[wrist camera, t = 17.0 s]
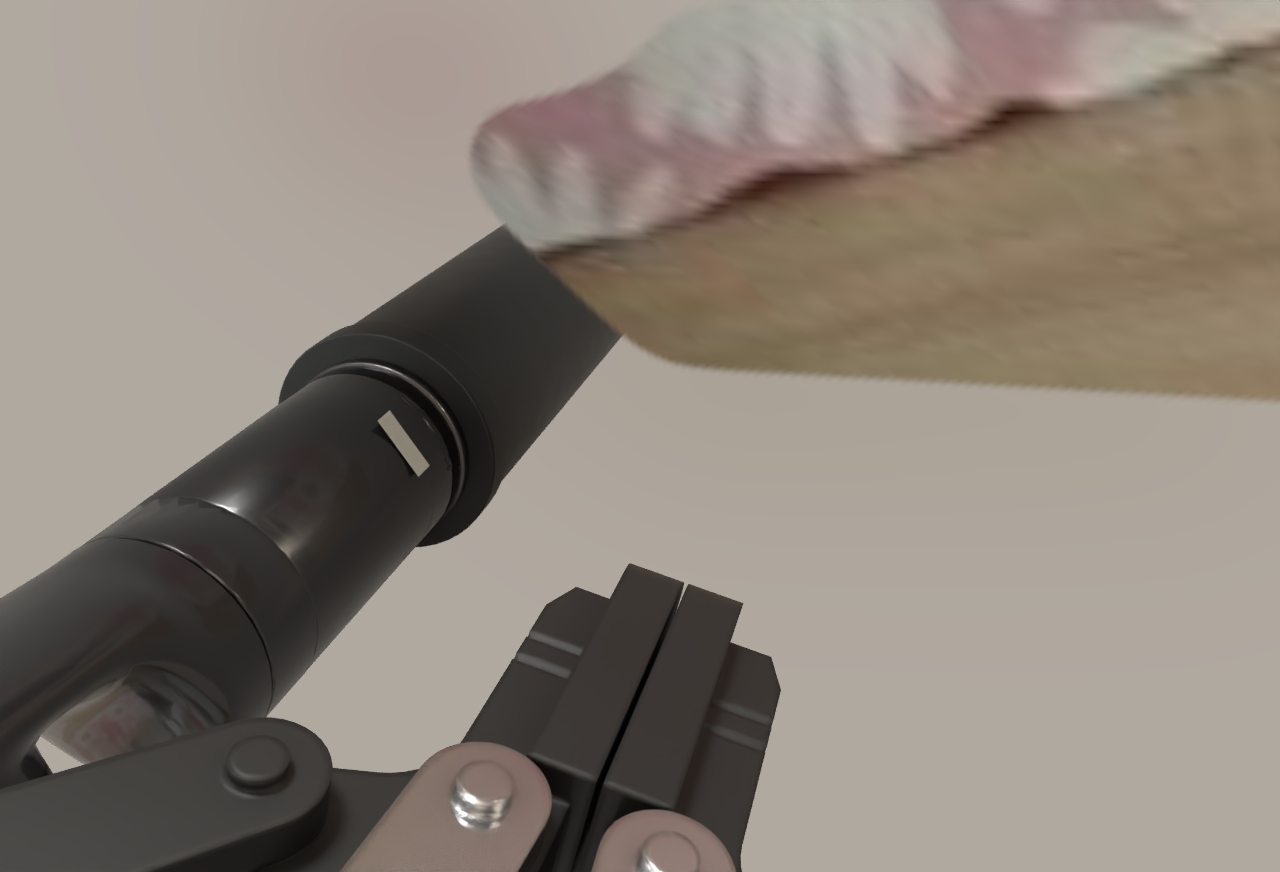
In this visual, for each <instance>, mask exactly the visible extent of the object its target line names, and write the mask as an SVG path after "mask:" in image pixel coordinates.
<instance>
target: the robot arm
mask: <svg viewBox="0 0 1280 872" xmlns="http://www.w3.org/2000/svg"><path fill="white" fill-rule="evenodd" d="M468 471H469V456H468V449H467V444H466V440H465V436H464V434H463V431H462V428H461V426H460V424H459V422H458V420H457V418H456V416H455V415H454V413H453V411H452V410H451V408H450V407H449V406H448V404H447V403H446V402H445V400H444V399H443V398H442V397H441V396H440V395H439V394H438V393H437V392H436V391H435V390H434V389H433V388H432V387H431V386H430V385H429V384H428V383H426V382H425V381H424V380H422V379H421V378H420V377H418V376H417V375H415V374H413V373H412V372H410V371H408V370H406V369H404V368H402V367H400V366H397V365H395V364H392V363H388V362H385V361H380V360H375V359H351V360H347V361H342V362H340V363H337V364H334V365H332V366H330V367H328V368H327V369H325V370H324V371H322V372H321V373H319V374H318V375H317V376H315V377H314V378H313V379H312V380H310V381H309V383H308V384H307V385H306V386H305V387H303V388H302V389H301V390H299V391H298V392H296V393H295V394H294V395H292V396H291V397H289V398H288V399H286V400H285V401H283V402H282V403H280V404H279V405H277V406H276V407H275V408H273V409H272V410H270V411H269V412H268V413H266V414H265V415H264V416H262V417H261V418H260V419H258V420H256V421H255V422H254V423H252V424H251V425H249V426H248V427H247V428H245V429H244V430H243V431H241V432H240V433H238V434H237V435H236V436H234V437H233V438H232V439H230V440H229V441H227V442H226V443H224V444H223V445H222V446H220V447H219V448H217V449H216V450H215V451H213V452H212V453H210V454H209V455H208V456H206V457H205V458H204V459H202V460H201V461H199V462H198V463H196V464H195V465H194V466H192V467H191V468H189V469H188V470H187V471H185V472H184V473H182V474H181V475H180V476H178V477H177V478H176V479H174V480H173V481H171V482H170V483H168V484H167V485H166V486H164V487H163V488H161V489H160V490H159V491H157V492H156V493H154V494H153V495H152V496H150V497H149V498H147V499H146V500H145V501H143V502H142V503H140V504H139V505H138V506H136V507H135V508H134V509H132V510H131V511H130V512H128V513H127V514H126V515H124V516H123V517H122V518H120V519H119V520H117V521H116V522H115V523H113V524H112V525H110V526H109V527H107V528H106V529H105V530H103V531H102V532H100V533H99V534H98V535H96V536H95V537H93V538H92V539H91V540H89V541H88V542H86V543H85V544H84V545H82V546H81V547H79V548H78V549H76V550H74V551H73V552H71V553H70V554H69V555H67V556H66V557H64V558H63V559H62V560H60V561H59V562H58V563H56V564H55V565H53V566H52V567H50V568H49V569H47V570H46V571H44V572H43V573H41V574H39V575H38V576H36V577H35V578H33V579H31V580H30V581H28V582H27V583H25V584H23V585H22V586H20V587H18V588H17V589H15V590H13V591H12V592H10V593H8V594H7V595H5V596H3V597H2V598H0V872H742V870H741V857H740V855H741V849H742V843H743V840H744V835H745V832H746V828H747V823H748V819H749V816H750V811H751V808H752V803H753V800H754V795H755V792H756V788H757V783H758V780H759V775H760V771H761V767H762V763H763V759H764V755H765V750H766V747H767V743H768V739H769V735H770V731H771V726H772V722H773V719H774V715H775V711H776V707H777V703H778V699H779V695H780V691H781V689H780V686H779V682H778V679H777V676H776V673H775V669H774V665H773V662H772V659H771V657H769V656H767V655H764V654H761V653H758V652H756V651H753V650H750V649H747V648H744V647H742V646H739V645H736V644H734V643H731V642H730V641H731V638H732V635H733V632H734V629H735V626H736V623H737V620H738V617H739V614H740V611H741V608H742V605H743V603H741V602H738V601H735V600H732V599H730V598H727V597H724V596H721V595H718V594H716V593H713V592H709V591H707V590H704V589H701V588H699V587H696V586H693V585H690V584H688V586H687V588H686V590H685V592H684V595H683V597H682V600H681V602H680V605H679V607H678V604H679V600H680V597H681V594H682V590H683V586H684V583H683V582H681V581H678V580H675V579H673V578H670V577H667V576H664V575H661V574H659V573H655V572H653V571H650V570H647V569H644V568H641V567H638V566H636V565H633V564H629V565H628V566H627V568H626V570H625V571H624V573H623V575H622V577H621V579H620V581H619V583H618V584H617V586H616V588H615V590H614V592H613V594H612V596H611V598H610V599H608V598H605V597H602V596H600V595H597V594H594V593H592V592H589V591H586V590H583V589H580V588H578V587H575V588H574V589H572V590H571V591H569V592H567V593H565V594H564V595H562V596H560V597H558V598H557V599H555V600H553V601H552V602H550V603H548V604H547V605H546V606H545V608H544V609H543V611H542V612H541V614H540V616H539V617H538V619H537V621H536V622H535V624H534V626H533V627H532V629H531V630H530V633H529V636H528V637H526V638H525V640H524V642H523V643H522V645H521V646H520V648H519V650H518V651H517V653H516V656H515V658H514V659H512V661H511V663H510V664H509V666H508V668H507V669H506V671H505V672H504V674H503V676H502V677H501V679H500V681H499V682H498V684H497V685H496V687H495V689H494V690H493V692H492V693H491V695H490V697H489V698H488V700H487V702H486V703H485V705H484V706H483V708H482V710H481V711H480V713H479V715H478V716H477V718H476V719H475V721H474V723H473V724H472V726H471V727H470V729H469V731H468V732H467V734H466V736H465V737H464V739H463V740H462V741H461V743H460V744H456V745H453V746H450V747H447V748H445V749H443V750H441V751H439V752H437V753H435V754H434V755H433V756H432V757H430V758H429V759H428V760H427V761H426V762H425V763H424V764H423V765H422V766H421V767H420V769H417V770H413V771H407V772H398V773H377V772H368V771H358V770H347V769H338V768H332V761H331V756H330V753H329V751H328V749H327V747H326V746H325V745H324V743H323V742H322V740H321V739H320V738H319V737H318V736H317V735H316V734H315V733H313V732H312V731H310V730H309V729H307V728H305V727H303V726H301V725H299V724H297V723H294V722H291V721H287V720H284V719H277V718H266V717H267V715H268V714H269V713H270V712H271V711H272V710H273V708H274V707H275V706H276V705H277V704H278V703H279V702H280V701H281V699H282V698H283V697H284V696H285V695H286V694H287V693H288V691H289V690H290V689H291V688H292V687H293V686H294V685H295V683H296V682H297V681H298V680H299V679H300V678H301V677H302V676H303V674H304V673H305V672H306V670H307V669H308V668H309V667H310V666H311V665H312V664H313V662H314V661H315V660H316V659H317V658H318V657H319V656H320V654H321V653H322V652H323V651H324V650H325V649H326V648H327V647H328V645H329V644H330V643H331V642H332V641H333V640H334V639H335V638H336V636H337V635H338V634H339V633H340V632H341V631H342V630H343V628H344V627H345V626H346V625H347V624H348V622H350V620H351V619H352V618H353V617H354V616H355V615H356V614H357V613H358V611H359V610H360V609H361V608H362V607H363V606H364V605H365V603H366V602H367V601H368V600H369V599H370V598H371V597H372V596H373V594H374V593H375V592H376V591H377V590H378V589H379V588H380V586H381V585H382V584H383V583H384V582H385V581H386V580H387V579H388V577H389V576H390V575H391V574H392V573H393V572H394V571H395V569H396V568H397V567H398V566H399V565H400V564H401V562H402V561H403V560H404V559H405V558H406V557H407V556H408V555H409V554H410V552H411V551H412V550H413V549H414V548H415V547H416V546H417V545H418V544H419V543H420V541H421V540H422V539H423V538H424V537H425V536H426V535H427V533H428V532H429V531H430V530H431V529H432V528H433V527H434V525H435V524H436V523H438V522H439V521H440V520H441V519H443V518H444V517H445V516H446V515H447V514H448V513H449V511H450V510H451V509H452V508H453V507H454V506H455V505H456V503H457V502H458V500H459V499H460V497H461V495H462V493H463V491H464V488H465V486H466V482H467V478H468ZM677 607H678V609H677ZM40 736H41V737H42V738H44V739H46V740H47V741H49V742H50V743H51V744H53V745H54V746H56V747H57V748H59V749H60V750H62V751H63V752H65V753H67V754H68V755H70V756H71V757H73V758H74V759H76V760H78V761H80V762H81V763H83V764H85V765H82V766H79V767H75V768H72V769H68V770H65V771H61V772H58V773H54V774H53V773H52V771H51V769H50V768H49V766H48V765H47V763H46V762H45V760H44V759H43V757H42V755H41V753H40V752H39V750H38V748H37V747H36V742H37V741H38V739H39V737H40Z"/></svg>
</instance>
